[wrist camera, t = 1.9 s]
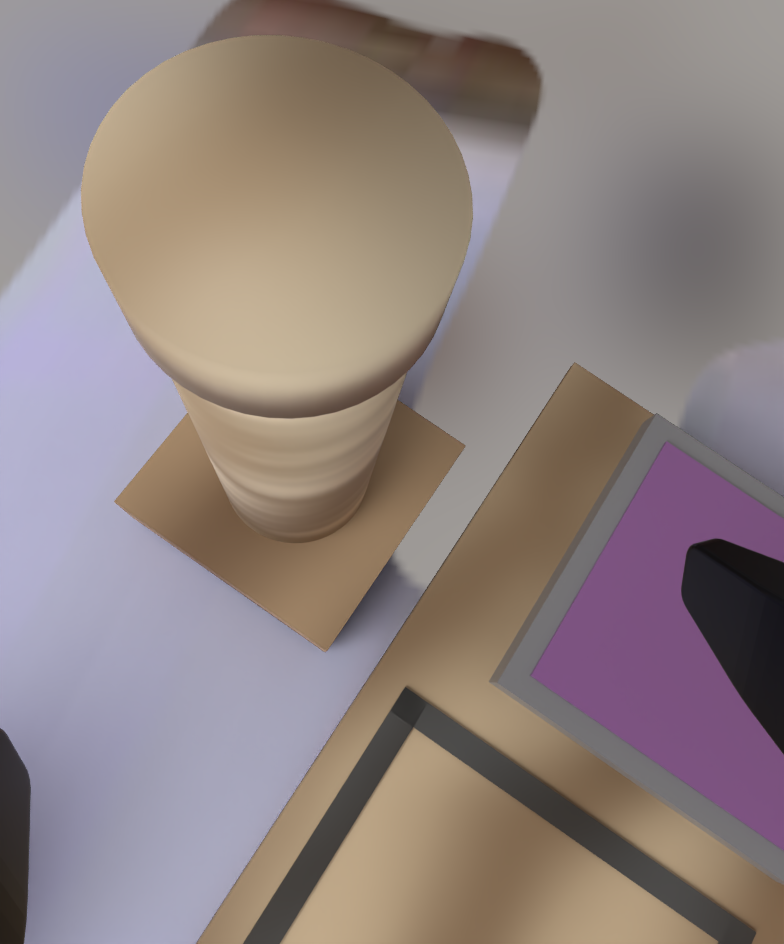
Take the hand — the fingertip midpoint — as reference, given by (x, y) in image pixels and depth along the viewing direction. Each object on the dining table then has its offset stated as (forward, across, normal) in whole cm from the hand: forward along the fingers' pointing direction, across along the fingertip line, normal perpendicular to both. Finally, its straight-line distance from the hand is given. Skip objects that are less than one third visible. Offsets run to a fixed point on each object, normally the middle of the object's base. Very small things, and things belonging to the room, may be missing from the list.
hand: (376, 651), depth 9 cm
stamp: (+13, 0, +5) cm, 14 cm away
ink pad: (+7, -11, +10) cm, 17 cm away
